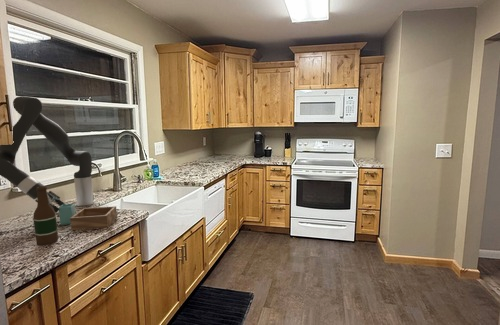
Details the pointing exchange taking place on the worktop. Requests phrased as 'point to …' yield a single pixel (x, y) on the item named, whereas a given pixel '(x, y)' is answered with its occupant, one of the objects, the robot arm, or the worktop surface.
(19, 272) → the worktop surface
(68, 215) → the teal rectangular block
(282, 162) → the worktop surface
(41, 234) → the beer bottle
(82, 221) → the walnut crate
